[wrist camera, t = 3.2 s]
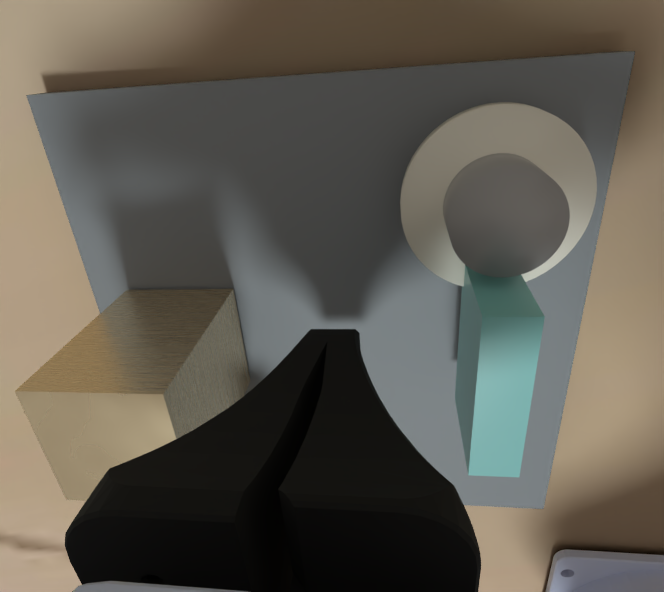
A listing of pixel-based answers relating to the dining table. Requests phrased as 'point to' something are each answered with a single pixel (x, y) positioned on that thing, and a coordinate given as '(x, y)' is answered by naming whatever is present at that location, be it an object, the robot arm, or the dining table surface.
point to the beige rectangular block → (135, 381)
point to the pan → (497, 254)
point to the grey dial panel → (326, 221)
